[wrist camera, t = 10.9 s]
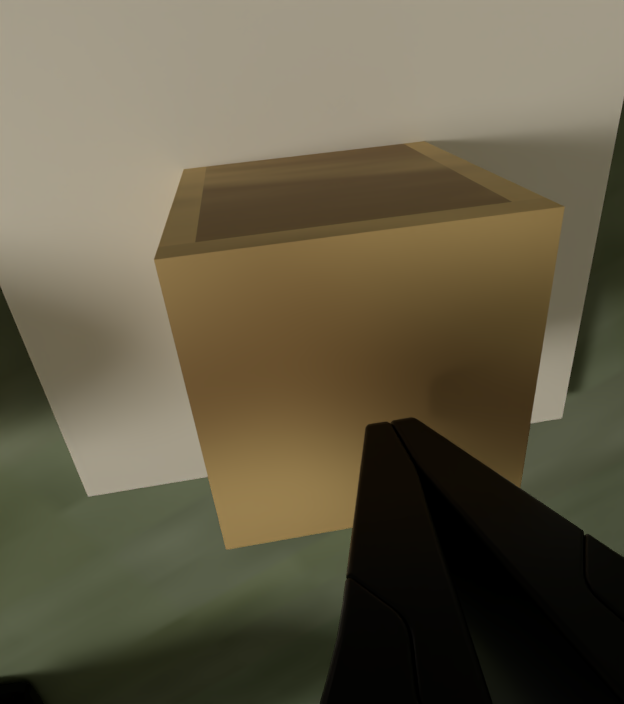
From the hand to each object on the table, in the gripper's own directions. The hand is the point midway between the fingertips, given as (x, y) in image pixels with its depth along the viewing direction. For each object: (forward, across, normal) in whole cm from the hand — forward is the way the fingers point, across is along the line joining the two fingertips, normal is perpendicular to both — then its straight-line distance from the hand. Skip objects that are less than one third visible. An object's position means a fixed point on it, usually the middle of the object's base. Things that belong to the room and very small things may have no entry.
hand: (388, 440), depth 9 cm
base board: (+10, 0, 0) cm, 10 cm away
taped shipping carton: (+8, 0, 0) cm, 8 cm away
